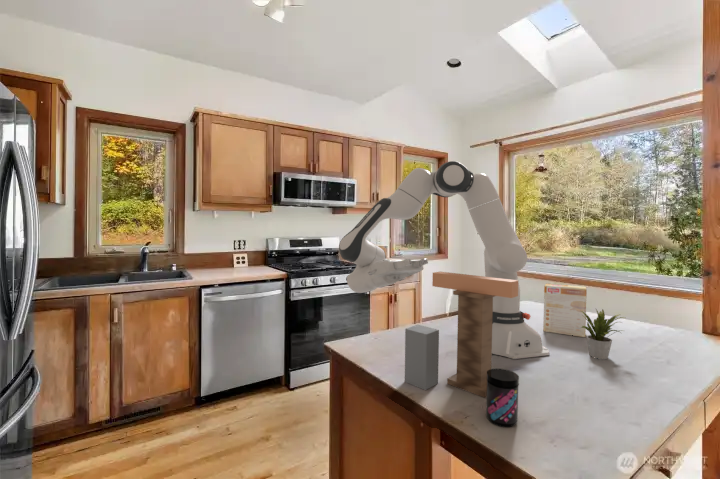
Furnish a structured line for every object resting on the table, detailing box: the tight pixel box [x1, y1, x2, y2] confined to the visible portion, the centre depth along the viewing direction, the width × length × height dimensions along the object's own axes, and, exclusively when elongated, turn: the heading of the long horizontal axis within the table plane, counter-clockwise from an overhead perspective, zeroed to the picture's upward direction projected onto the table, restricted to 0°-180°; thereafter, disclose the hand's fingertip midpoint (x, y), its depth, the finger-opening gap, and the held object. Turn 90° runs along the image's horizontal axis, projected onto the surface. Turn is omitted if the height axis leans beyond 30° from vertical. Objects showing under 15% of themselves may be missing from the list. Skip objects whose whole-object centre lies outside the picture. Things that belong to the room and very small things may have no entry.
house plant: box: [581, 308, 625, 360], centre depth 118 cm, size 14×14×16 cm
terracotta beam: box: [431, 271, 519, 298], centre depth 96 cm, size 23×4×4 cm, turn 45°
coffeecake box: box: [542, 283, 587, 338], centre depth 146 cm, size 15×7×20 cm, turn 58°
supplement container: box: [485, 368, 520, 428], centre depth 79 cm, size 7×7×10 cm
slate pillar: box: [404, 324, 440, 391], centre depth 98 cm, size 7×6×15 cm
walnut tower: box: [446, 290, 495, 398], centre depth 96 cm, size 11×9×26 cm
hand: (418, 261), depth 110 cm, fingers open, 8 cm apart
